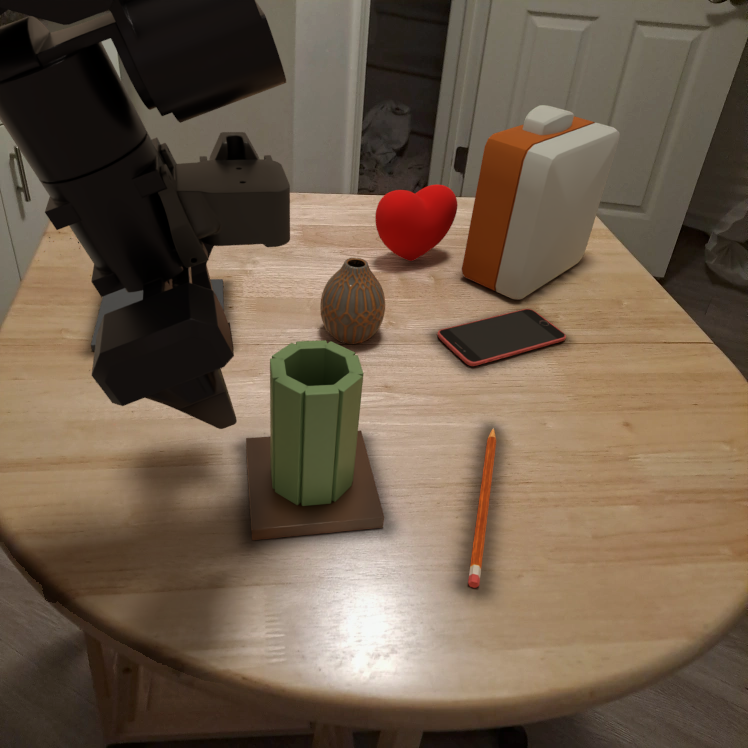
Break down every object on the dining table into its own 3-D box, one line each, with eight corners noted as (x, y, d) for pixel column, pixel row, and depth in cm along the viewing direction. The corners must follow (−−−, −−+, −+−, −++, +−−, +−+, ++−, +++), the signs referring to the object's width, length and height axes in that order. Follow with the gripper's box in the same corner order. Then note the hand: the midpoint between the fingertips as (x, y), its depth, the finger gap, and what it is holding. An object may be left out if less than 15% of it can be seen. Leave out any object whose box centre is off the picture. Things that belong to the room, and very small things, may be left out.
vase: (352, 311, 76) (357, 241, 71) (394, 337, 73) (403, 266, 67) (306, 330, 72) (308, 258, 67) (348, 359, 69) (354, 286, 63)
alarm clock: (529, 240, 97) (566, 92, 85) (583, 261, 92) (630, 109, 80) (457, 279, 85) (487, 114, 73) (515, 306, 81) (558, 135, 68)
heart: (434, 245, 92) (445, 175, 86) (457, 262, 89) (470, 190, 83) (362, 259, 87) (368, 186, 81) (384, 278, 83) (392, 202, 77)
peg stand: (252, 540, 49) (250, 484, 45) (246, 448, 57) (244, 393, 53) (383, 527, 51) (391, 473, 48) (360, 440, 59) (365, 387, 55)
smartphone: (570, 336, 75) (471, 364, 69) (568, 341, 75) (470, 369, 69) (530, 306, 79) (434, 330, 73) (529, 310, 80) (433, 334, 74)
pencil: (467, 586, 47) (468, 580, 47) (488, 429, 62) (489, 423, 61) (478, 589, 47) (480, 583, 47) (497, 431, 62) (498, 425, 61)
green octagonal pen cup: (274, 509, 50) (274, 396, 44) (268, 450, 55) (267, 342, 48) (357, 501, 51) (369, 391, 45) (344, 445, 56) (353, 338, 50)
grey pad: (91, 351, 66) (90, 344, 65) (107, 286, 76) (106, 280, 75) (225, 346, 68) (224, 340, 68) (223, 284, 79) (222, 278, 78)
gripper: (270, 162, 26) (375, 428, 36) (230, 54, 40) (313, 265, 50) (0, 265, 25) (182, 503, 36) (56, 119, 40) (175, 318, 50)
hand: (223, 378), depth 43 cm, fingers open, 9 cm apart
